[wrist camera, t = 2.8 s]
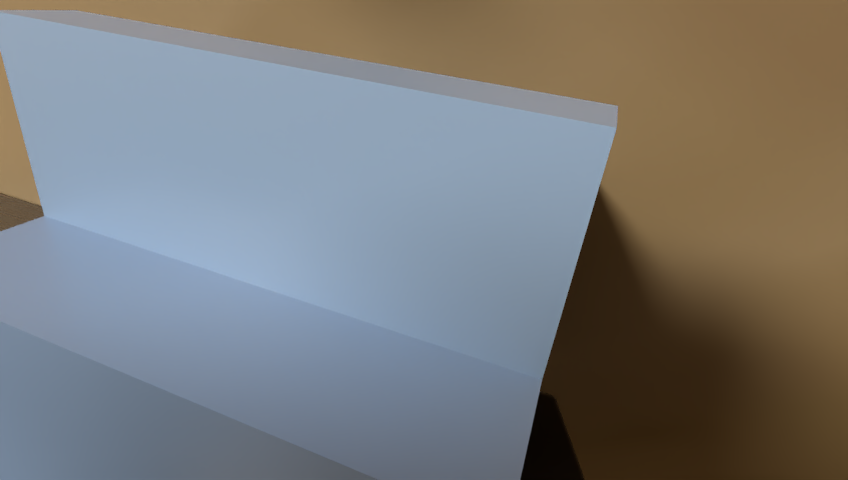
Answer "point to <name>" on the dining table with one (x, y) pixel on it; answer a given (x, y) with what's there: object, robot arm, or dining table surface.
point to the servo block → (279, 259)
